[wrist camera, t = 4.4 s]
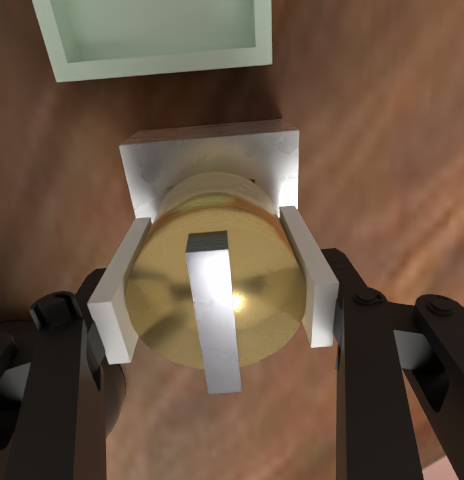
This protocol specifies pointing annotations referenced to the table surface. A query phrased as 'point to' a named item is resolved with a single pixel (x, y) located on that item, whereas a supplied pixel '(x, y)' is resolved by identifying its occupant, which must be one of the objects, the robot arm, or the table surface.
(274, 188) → the silver square block
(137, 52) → the tray
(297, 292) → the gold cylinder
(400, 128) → the table surface
